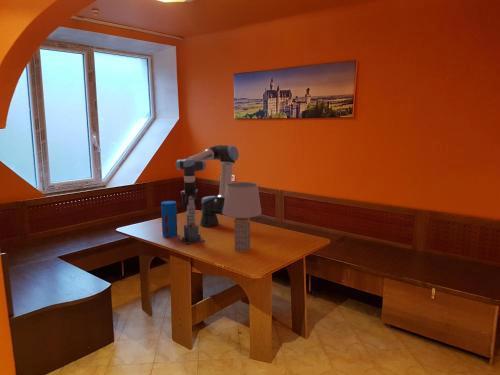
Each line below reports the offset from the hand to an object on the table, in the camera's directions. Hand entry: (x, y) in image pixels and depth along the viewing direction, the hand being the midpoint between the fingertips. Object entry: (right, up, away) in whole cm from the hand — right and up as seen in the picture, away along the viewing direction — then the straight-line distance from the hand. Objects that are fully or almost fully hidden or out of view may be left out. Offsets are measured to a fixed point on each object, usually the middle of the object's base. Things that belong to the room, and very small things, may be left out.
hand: (190, 214), depth 273 cm
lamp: (+36, -22, -16) cm, 46 cm away
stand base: (0, -19, +3) cm, 19 cm away
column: (0, -11, +2) cm, 11 cm away
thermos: (-18, -17, +16) cm, 29 cm away
